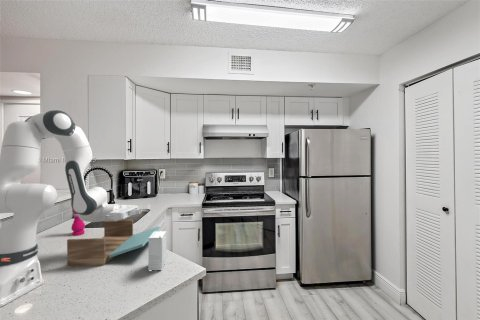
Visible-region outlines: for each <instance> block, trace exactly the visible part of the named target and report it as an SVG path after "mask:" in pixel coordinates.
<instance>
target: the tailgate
mask: <svg viewBox="0 0 480 320" xmlns="http://www.w3.org/2000/svg"><path fill="white" fill-rule="evenodd" d="M159 230H161V226H156V227H153V228H150V229H147V230H143V231H141V232H137V233H135V234H134V233H133V235H132V236H131V237H130V238H129V239H128V240H126V241H125V242H124V243H123V244H122V245H120V246H119V247H118V248H117V249H115V250H114V251H113V252H112V253H111V254H109V255H108V256H109V258H110V257H113V256H114V257H116V256H119V255H123V254H125V253H127V252H130V251H133V250H136V249H139V248H143V247H144V246H145V245H146V244H148V243H149V237H150V236H151V234H152V233H153V232H154V231H159ZM114 257H113V258H114Z"/></svg>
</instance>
